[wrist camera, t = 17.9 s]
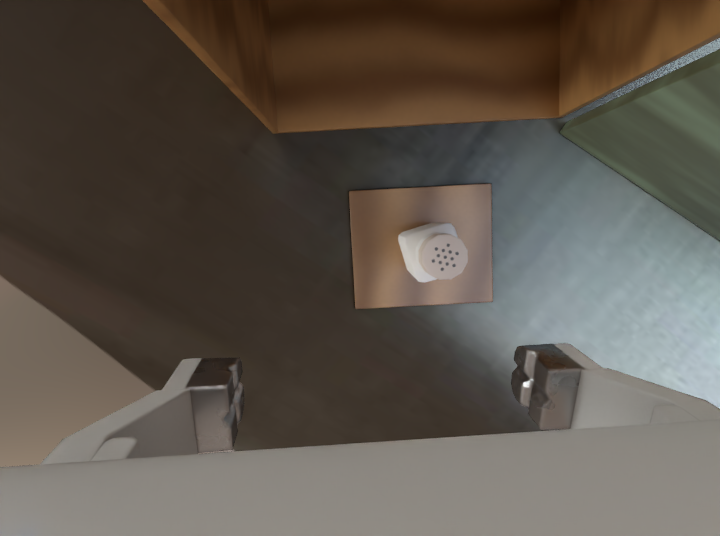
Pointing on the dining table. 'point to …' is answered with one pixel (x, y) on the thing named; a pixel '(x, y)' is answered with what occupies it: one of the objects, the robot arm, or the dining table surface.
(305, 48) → the cupboard
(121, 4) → the dining table surface
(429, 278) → the pepper shaker
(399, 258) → the coaster
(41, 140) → the dining table surface
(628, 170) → the cupboard door
